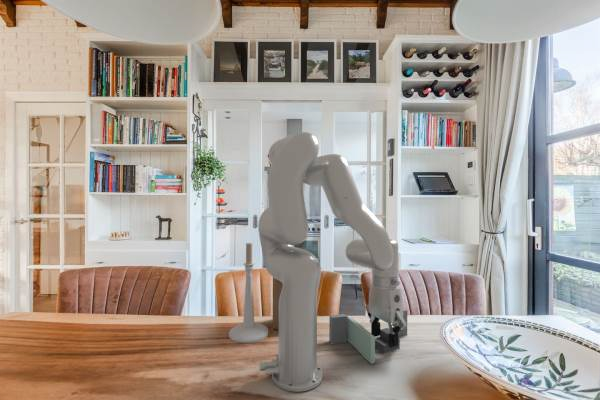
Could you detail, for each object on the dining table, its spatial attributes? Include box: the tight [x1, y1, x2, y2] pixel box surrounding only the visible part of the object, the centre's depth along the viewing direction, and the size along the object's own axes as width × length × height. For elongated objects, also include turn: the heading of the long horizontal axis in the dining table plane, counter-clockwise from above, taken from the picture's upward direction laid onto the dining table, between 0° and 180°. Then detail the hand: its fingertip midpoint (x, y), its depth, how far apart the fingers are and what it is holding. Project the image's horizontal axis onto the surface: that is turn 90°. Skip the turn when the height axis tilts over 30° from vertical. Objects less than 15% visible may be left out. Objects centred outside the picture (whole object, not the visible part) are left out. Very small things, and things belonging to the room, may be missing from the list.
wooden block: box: [272, 277, 283, 330], centre depth 106 cm, size 10×10×20 cm
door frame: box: [328, 307, 408, 345], centre depth 96 cm, size 26×2×8 cm, turn 104°
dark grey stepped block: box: [375, 327, 401, 354], centre depth 90 cm, size 6×5×4 cm
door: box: [346, 315, 376, 365], centre depth 87 cm, size 15×1×7 cm, turn 17°
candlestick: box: [228, 242, 269, 344], centre depth 98 cm, size 13×13×30 cm
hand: (384, 340), depth 89 cm, fingers open, 6 cm apart
